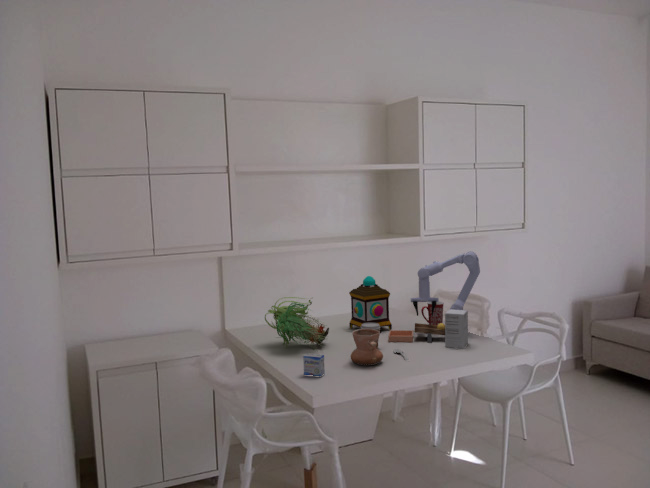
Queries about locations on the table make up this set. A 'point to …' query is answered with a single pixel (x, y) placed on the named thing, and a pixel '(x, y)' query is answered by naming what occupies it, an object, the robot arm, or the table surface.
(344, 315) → the table surface
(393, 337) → the tray
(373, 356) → the ceramic jug
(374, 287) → the decorative lantern
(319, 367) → the medicine box
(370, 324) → the disposable coffee cup
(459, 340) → the supplement box
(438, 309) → the mug
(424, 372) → the table surface
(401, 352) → the spoon
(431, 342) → the seesaw stand
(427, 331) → the brown wooden tray
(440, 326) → the ball
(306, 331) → the plant
